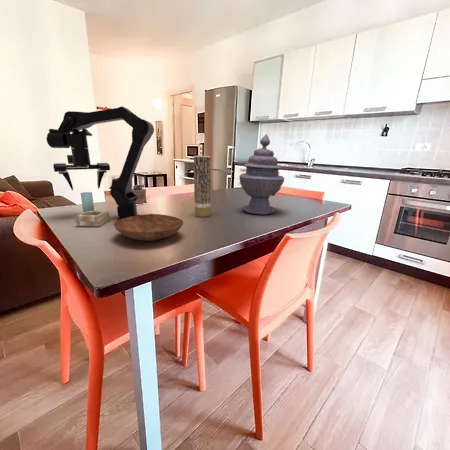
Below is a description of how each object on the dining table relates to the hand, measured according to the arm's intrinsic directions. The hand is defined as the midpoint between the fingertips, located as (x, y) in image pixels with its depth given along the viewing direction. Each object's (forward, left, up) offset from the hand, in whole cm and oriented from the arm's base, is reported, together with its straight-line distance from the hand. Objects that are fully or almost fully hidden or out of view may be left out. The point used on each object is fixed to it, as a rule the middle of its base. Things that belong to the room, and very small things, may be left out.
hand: (86, 189), depth 97 cm
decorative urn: (-72, -15, -12) cm, 74 cm away
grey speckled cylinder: (-46, -6, -12) cm, 48 cm away
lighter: (-11, -28, -12) cm, 32 cm away
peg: (0, 0, -11) cm, 11 cm away
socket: (-7, +10, -11) cm, 17 cm away
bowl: (-32, +23, -12) cm, 41 cm away
